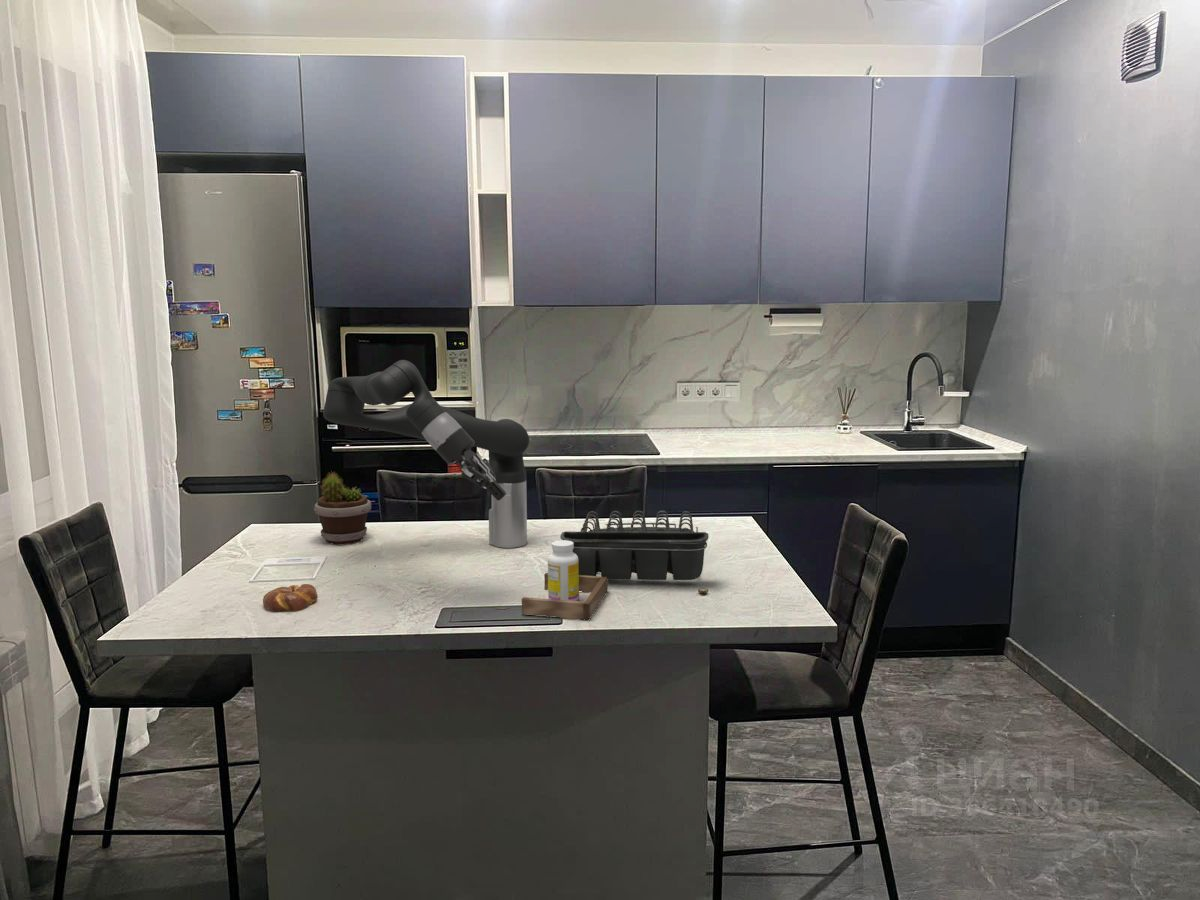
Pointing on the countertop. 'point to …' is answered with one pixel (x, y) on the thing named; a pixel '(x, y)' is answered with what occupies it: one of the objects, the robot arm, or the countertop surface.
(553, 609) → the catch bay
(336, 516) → the flowerpot
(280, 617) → the countertop surface
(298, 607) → the pretzel
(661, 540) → the dish rack
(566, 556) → the supplement bottle
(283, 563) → the photo frame
